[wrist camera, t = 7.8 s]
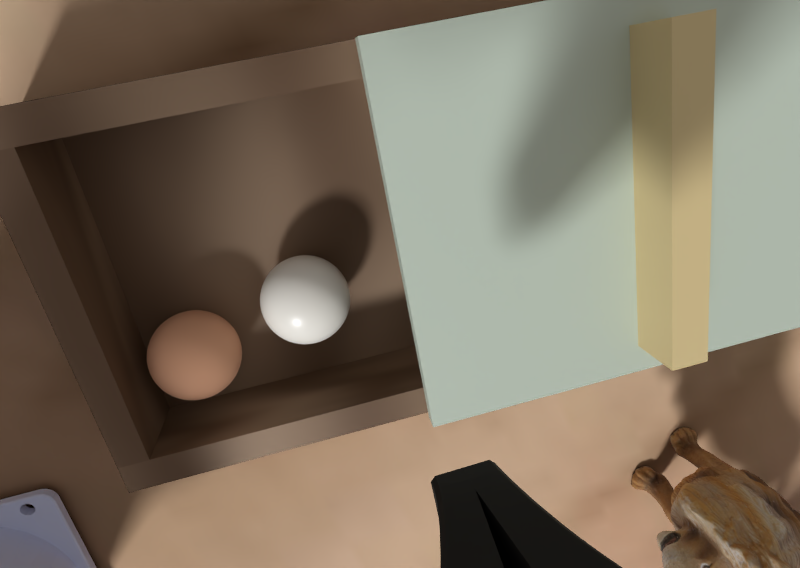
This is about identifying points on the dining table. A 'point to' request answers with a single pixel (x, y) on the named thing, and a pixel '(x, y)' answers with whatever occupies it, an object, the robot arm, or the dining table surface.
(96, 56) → the dining table surface
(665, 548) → the lion figurine
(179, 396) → the ball terracotta
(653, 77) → the lid
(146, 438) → the box
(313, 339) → the ball ivory
